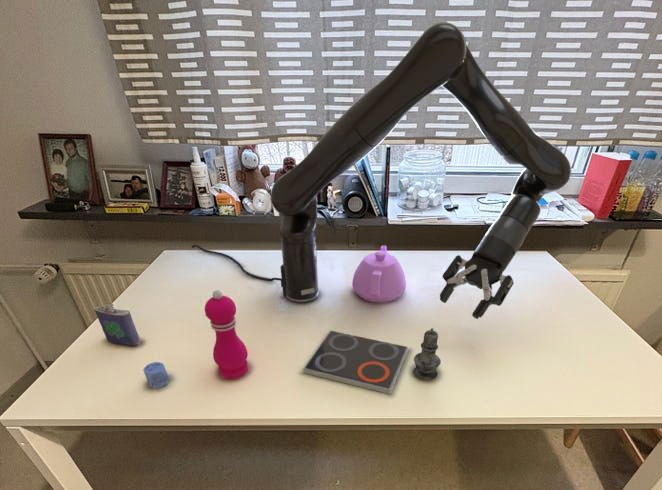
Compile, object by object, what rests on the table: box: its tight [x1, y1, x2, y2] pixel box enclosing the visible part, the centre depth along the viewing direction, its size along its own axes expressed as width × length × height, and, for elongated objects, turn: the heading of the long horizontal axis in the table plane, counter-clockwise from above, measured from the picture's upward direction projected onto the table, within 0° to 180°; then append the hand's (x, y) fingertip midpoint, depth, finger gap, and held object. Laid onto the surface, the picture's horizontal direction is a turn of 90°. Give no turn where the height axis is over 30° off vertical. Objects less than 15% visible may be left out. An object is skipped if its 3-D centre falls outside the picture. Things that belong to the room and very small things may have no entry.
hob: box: [302, 330, 409, 395], centre depth 94 cm, size 20×16×2 cm
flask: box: [94, 302, 142, 348], centre depth 96 cm, size 9×3×11 cm, turn 74°
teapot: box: [351, 245, 407, 303], centre depth 117 cm, size 22×16×12 cm
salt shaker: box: [413, 327, 442, 381], centre depth 88 cm, size 6×6×12 cm
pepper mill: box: [204, 290, 249, 380], centre depth 85 cm, size 7×7×20 cm
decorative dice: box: [142, 361, 170, 389], centre depth 87 cm, size 4×4×4 cm
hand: (457, 309), depth 87 cm, fingers open, 8 cm apart
